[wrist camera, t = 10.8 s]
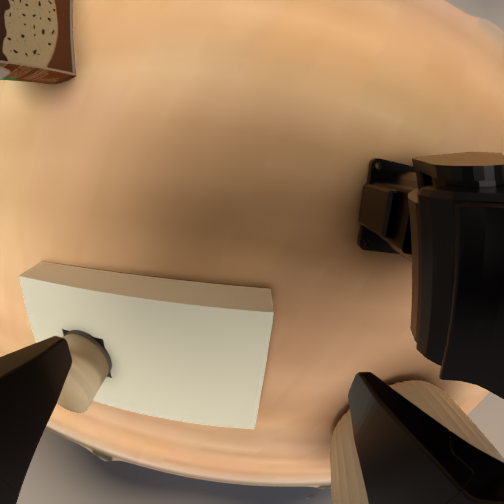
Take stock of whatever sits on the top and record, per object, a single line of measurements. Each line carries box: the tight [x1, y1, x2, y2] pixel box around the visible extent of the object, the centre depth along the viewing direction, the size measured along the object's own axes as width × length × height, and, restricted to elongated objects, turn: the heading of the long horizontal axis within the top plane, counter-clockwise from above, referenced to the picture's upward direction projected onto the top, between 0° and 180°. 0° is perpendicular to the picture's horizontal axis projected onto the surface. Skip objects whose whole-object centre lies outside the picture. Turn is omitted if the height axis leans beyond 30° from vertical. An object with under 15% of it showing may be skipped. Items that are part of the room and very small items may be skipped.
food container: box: [0, 0, 76, 84], centre depth 10 cm, size 12×6×10 cm, turn 14°
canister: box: [330, 380, 504, 504], centre depth 16 cm, size 18×18×21 cm
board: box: [19, 261, 274, 429], centre depth 21 cm, size 20×12×4 cm, turn 85°
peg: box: [57, 330, 112, 413], centre depth 18 cm, size 5×5×7 cm
